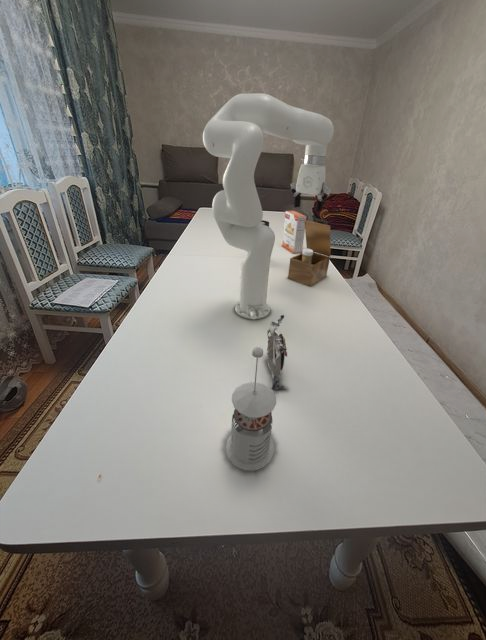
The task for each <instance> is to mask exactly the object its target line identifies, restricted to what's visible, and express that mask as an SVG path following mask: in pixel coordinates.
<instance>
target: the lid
mask: <svg viewBox="0 0 486 640" xmlns="http://www.w3.org/2000/svg"><path fill="white" fill-rule="evenodd" d="M328 223H329V221H328V220H325V219H320V218H316V220H315V221H312V220H307V219H306V220H305V233H304V234H305V241H306V242H305V244H306V249H311V250H313V252H314V253H317V254H321V255H324V256H328V257H330V258H331V255H332V253H331V252H332V251H331V250H332V249H331V246H332V245H331V225H329V224H328Z"/></svg>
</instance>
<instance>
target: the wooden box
mask: <svg viewBox="0 0 486 640" xmlns="http://www.w3.org/2000/svg"><path fill="white" fill-rule="evenodd" d="M302 256H303V252H301V253H298V254H297V255H295V256H293V257H290V258H289V266H288V274H287V279H288V280H292V281H294V282H296V283H300V284H302V285H305V286H308V287H313V286H314V285H316V284H318V283H319V282H321V280H324V278H326V277H327V275H328V270H329V264H330V259H331V256H330V257H329V256H326V255H322V254H319V253H315V252H313V256H312V260H311V264H309V263H306V262H303V261H302Z"/></svg>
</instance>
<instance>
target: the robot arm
mask: <svg viewBox="0 0 486 640" xmlns="http://www.w3.org/2000/svg"><path fill="white" fill-rule="evenodd" d="M334 131H335V128H334V125H333V122H332V120H331V119H330V118H328V117H327V116H324V115H322V114H320V113H317V112H313V111H309V110H306V109H303V108H299V107H297V106H292V105H290V104H288V103H286V102H284V101H282V100H280V99H278V98H276V97H274V96H272V95H270V94H268V93H264V92H263V93H257V92H256V93H238V94H236V95H234V96H233V97H231V98H230V99H229V100H228V101H227V102H225V104H224V105H223V106H222V107H221V108H219V110H217V112H216V113H215V114H214V115H213V116H212V117H211V118H210V119H209V120H208V122H207V123H206V124H205V127H204V129H203V133H202V142H203V143H202V144H203V146H204V148H205V150H206V151H207V152H208V153H209V154H210V155H212V156H213V157H217V158H223V159H224V158H225V159H229V161H228V164H227V166H226V169H225V171H224V172H223V175H222V187H223V189H221V190H219V191H218V192H216V194H215V195H214V197H213V199H212V204H211V210H212V215H213V218H214V221H215V222H216V223H215V224H216V225H217V227H218V229H219V231H220V233H221V236H222V238H223V239H224V241H225V243H227V245H229V246H231V247H233V248H237V249H239V250H243V251H245V252H247V254H246V256H245V257H244V258H243V259H242V261H241V265H240V287H239V290H240V291H239V302H236V305H235V306H234V307H235V309H234V310H235V313H236V314H237V315H238V316H240V317H241V318H243V319H249V320H259V319H263V318H265V317H267V316H268V315H269V314H270V311H271V308H270V306H269V304H267V298H268V287H269V275H270V266H271V265H270V264H271V258H272V253H273V249H274V246H275V242H276V235H275V232H274V230H273V229H272V227H270V226H269V227H268V226H266V225H263V224H260V223H261V221H262V220H263V217H264V213H263V208H262V204H261V200H260V197H259V194H258V190H257V187H256V183H255V171H256V167H257V164H258V162H259V159H260V156H261V154H262V152H263V147H264V134H267V135H270V136H273V137H276V138H279V139H283V140H288V141H292V142H293V143H295V144H297V145H301V146H305V148H304V149H305V150H304V156H301V157H300V158H301V159H300V160H301V161H302V163H301V164H300V166H299V167H300V168H299V171H298V175H297V179H296V181H294V182H292V183H291V182H290V188H291V192H292V193H293V197H294V200H293V201H294V202H293V203H294V205H293V207H294V208H299V207H300V206H301V199H302V196H301V195H302V194H305V195H309V196H310V195H311V196H316V197H317V201H316V207H315V212H317V213H319V212H321V211H322V210H323V206H324V201H326V199H328V198H329V197H330V195H331V193H332V191H333V189H332V188H330V186H328V185H327V184H326V177H327V176H326V173H327V172H326V166H325V163H326V156H327V148H328V145H329V144H330V143H331V141H332V140H333V137H334ZM324 191H325V193H324Z"/></svg>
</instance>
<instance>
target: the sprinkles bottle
mask: <svg viewBox="0 0 486 640" xmlns="http://www.w3.org/2000/svg"><path fill="white" fill-rule="evenodd" d="M302 253H303V256H302V261H303V262H306V263H309V264H311V260H312V256H313V250H311V249H307V248H302Z"/></svg>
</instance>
